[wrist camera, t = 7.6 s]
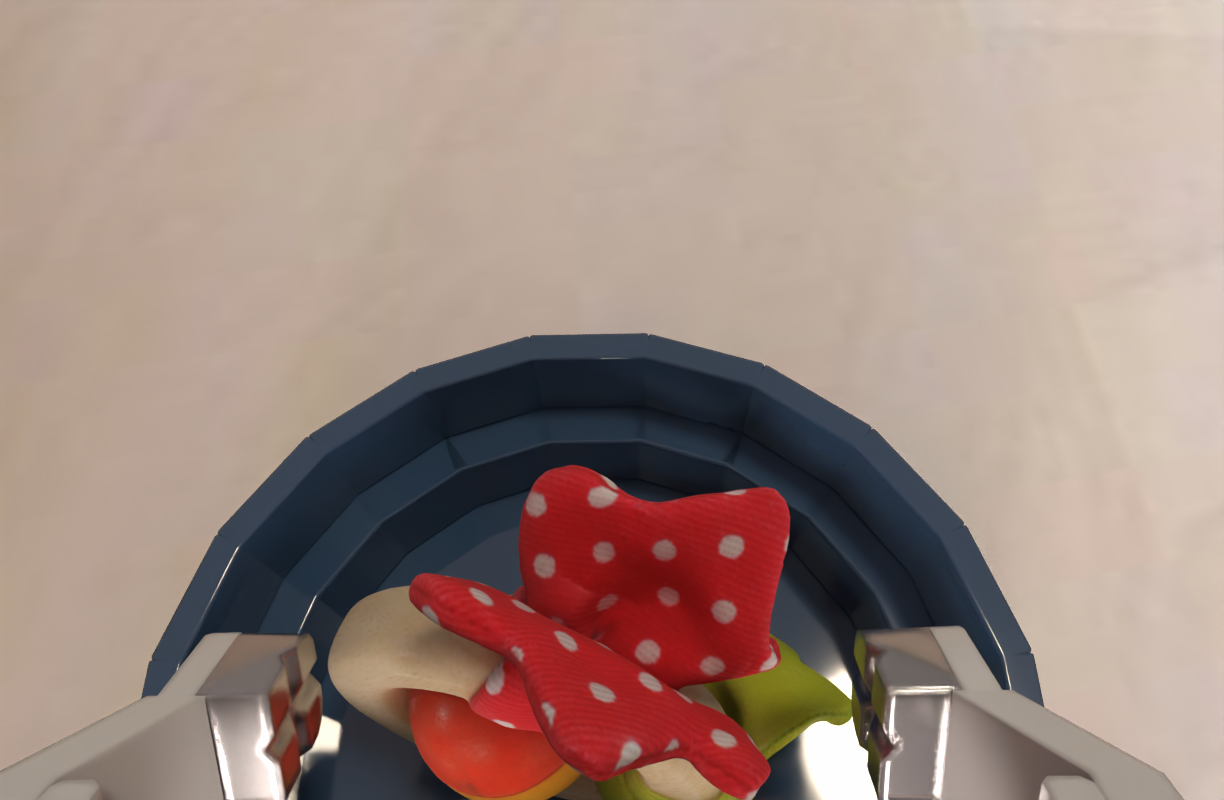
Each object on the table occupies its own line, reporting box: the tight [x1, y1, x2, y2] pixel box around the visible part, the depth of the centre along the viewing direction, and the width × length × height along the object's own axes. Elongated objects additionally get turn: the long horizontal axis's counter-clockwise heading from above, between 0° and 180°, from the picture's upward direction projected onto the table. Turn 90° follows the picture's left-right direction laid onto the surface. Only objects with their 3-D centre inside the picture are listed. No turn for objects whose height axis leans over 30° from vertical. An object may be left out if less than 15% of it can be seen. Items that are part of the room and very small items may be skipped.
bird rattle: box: [328, 465, 852, 800], centre depth 16 cm, size 6×11×9 cm
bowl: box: [141, 333, 1044, 800], centre depth 18 cm, size 16×16×5 cm
